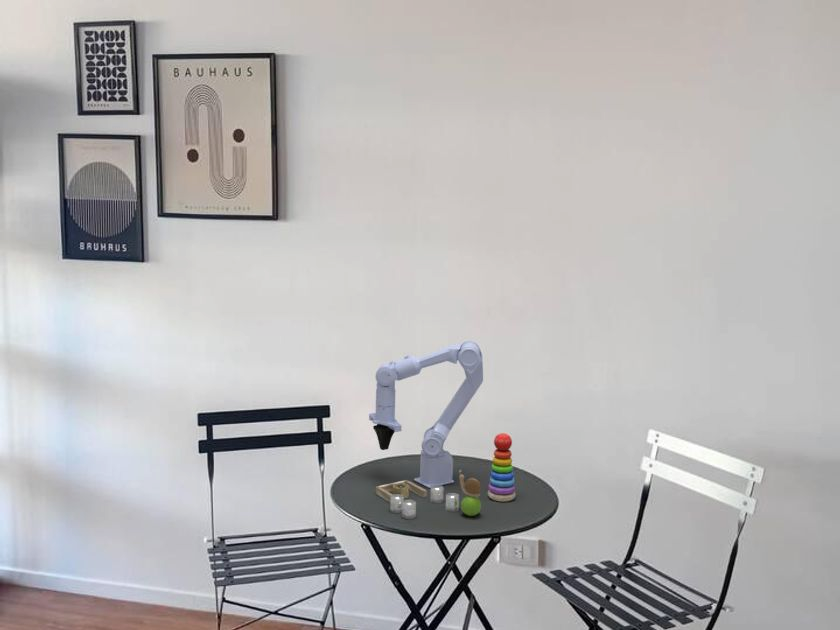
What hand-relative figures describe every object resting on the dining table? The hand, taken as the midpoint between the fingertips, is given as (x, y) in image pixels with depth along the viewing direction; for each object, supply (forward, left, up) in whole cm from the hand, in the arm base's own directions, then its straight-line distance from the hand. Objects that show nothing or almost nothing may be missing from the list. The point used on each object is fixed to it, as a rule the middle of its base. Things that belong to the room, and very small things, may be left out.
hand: (384, 449), depth 240 cm
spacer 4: (-4, +29, -10) cm, 31 cm away
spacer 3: (-4, +22, -10) cm, 24 cm away
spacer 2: (+9, +27, -10) cm, 30 cm away
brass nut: (+3, +14, -10) cm, 17 cm away
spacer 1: (+10, +22, -10) cm, 26 cm away
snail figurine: (-5, +34, -10) cm, 36 cm away
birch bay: (+3, +13, -9) cm, 17 cm away
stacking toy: (-21, +29, -10) cm, 37 cm away
